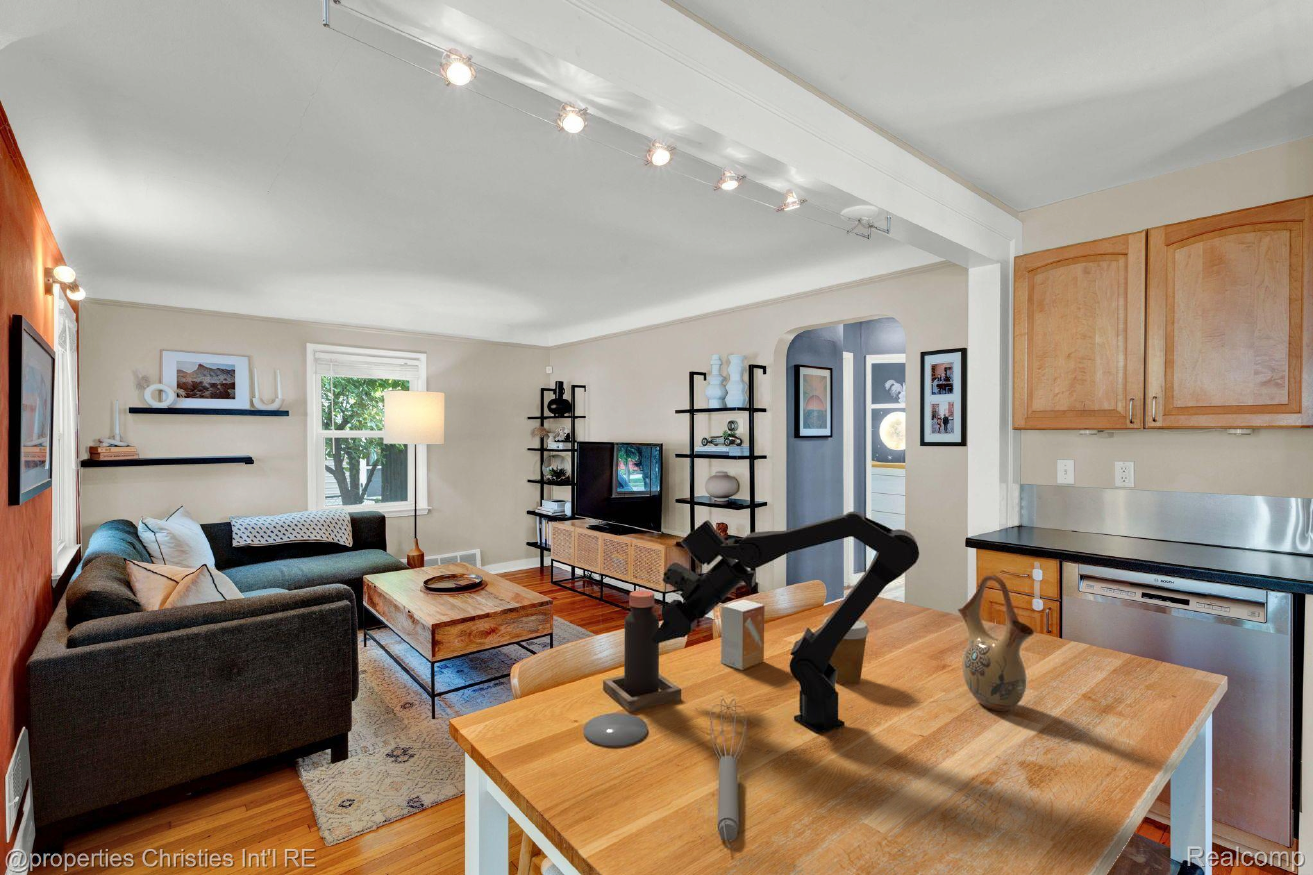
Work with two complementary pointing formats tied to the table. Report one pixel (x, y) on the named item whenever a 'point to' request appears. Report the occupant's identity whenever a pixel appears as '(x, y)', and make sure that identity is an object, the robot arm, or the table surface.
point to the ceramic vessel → (994, 654)
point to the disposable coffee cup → (850, 654)
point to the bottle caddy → (644, 701)
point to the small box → (742, 634)
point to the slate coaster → (615, 729)
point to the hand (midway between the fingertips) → (661, 634)
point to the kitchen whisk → (728, 786)
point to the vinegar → (641, 646)
